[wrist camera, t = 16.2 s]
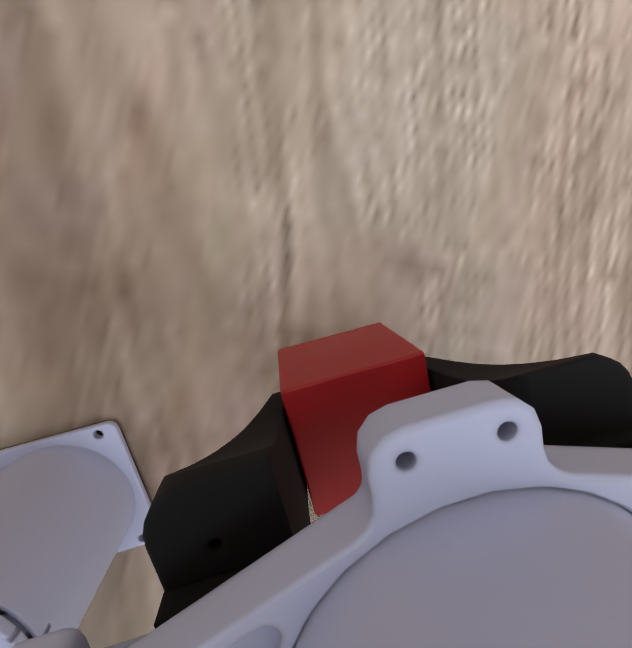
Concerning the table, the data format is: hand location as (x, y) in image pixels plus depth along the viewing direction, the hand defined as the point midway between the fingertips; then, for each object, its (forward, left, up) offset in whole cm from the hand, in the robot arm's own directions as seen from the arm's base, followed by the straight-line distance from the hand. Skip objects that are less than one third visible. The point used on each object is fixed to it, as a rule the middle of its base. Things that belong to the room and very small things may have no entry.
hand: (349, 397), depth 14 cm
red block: (0, 0, -1) cm, 1 cm away
